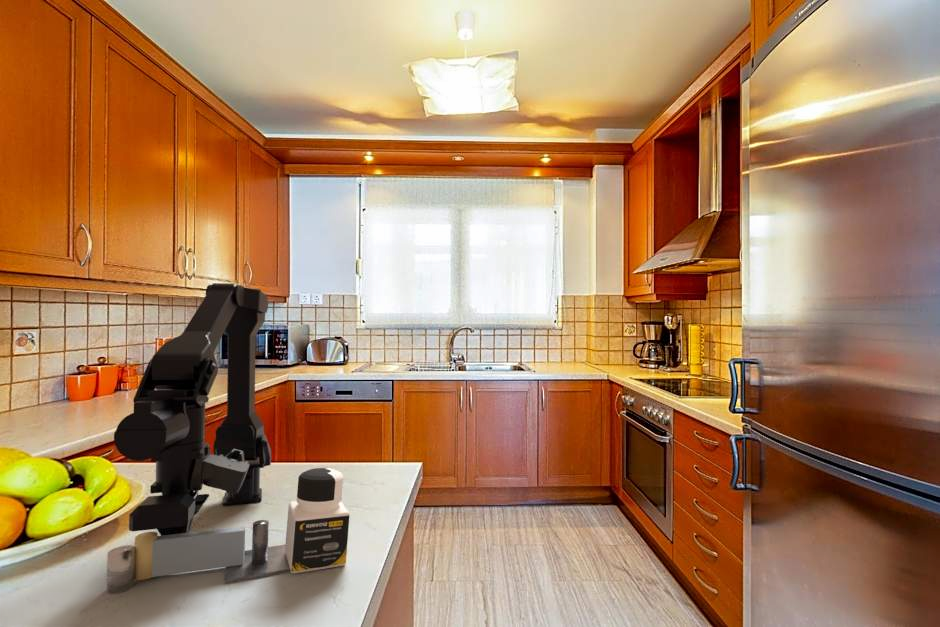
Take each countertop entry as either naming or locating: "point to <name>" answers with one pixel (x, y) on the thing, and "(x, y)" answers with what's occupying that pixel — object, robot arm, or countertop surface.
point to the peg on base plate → (259, 557)
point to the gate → (188, 551)
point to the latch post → (120, 569)
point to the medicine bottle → (317, 522)
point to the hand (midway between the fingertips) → (179, 556)
